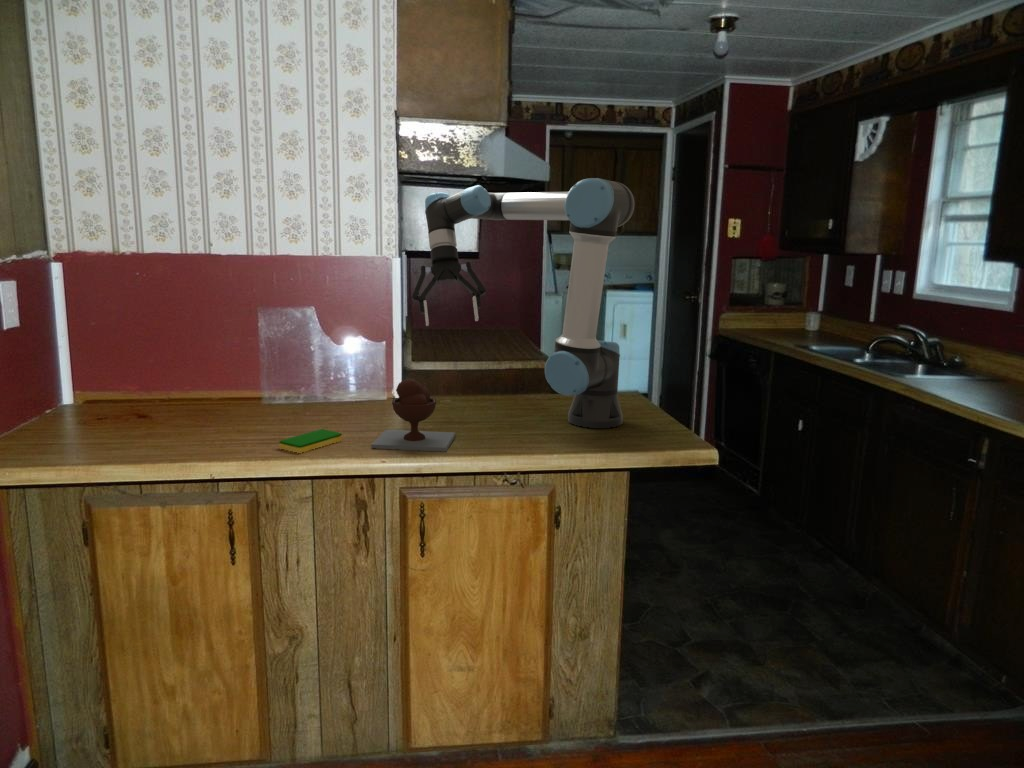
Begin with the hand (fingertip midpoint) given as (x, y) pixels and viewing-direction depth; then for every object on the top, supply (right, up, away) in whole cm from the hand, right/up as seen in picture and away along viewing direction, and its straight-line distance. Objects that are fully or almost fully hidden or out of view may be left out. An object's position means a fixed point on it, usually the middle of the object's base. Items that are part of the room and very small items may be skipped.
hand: (452, 322), depth 204 cm
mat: (-8, -31, -20) cm, 38 cm away
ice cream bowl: (-8, -30, -20) cm, 37 cm away
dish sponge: (-32, -32, -24) cm, 51 cm away
